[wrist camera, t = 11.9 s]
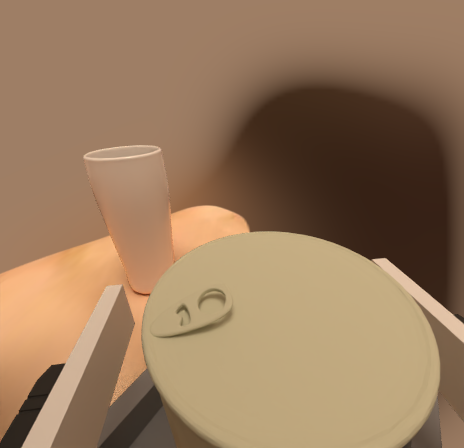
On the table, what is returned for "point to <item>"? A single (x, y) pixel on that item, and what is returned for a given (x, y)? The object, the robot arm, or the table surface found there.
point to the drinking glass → (135, 209)
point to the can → (288, 347)
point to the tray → (159, 432)
